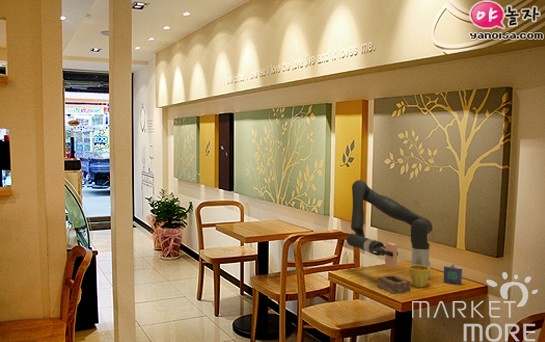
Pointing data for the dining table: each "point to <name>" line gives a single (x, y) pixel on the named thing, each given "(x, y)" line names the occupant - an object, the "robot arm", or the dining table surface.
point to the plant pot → (419, 275)
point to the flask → (452, 275)
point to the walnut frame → (394, 284)
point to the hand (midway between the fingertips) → (395, 254)
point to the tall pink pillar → (388, 259)
